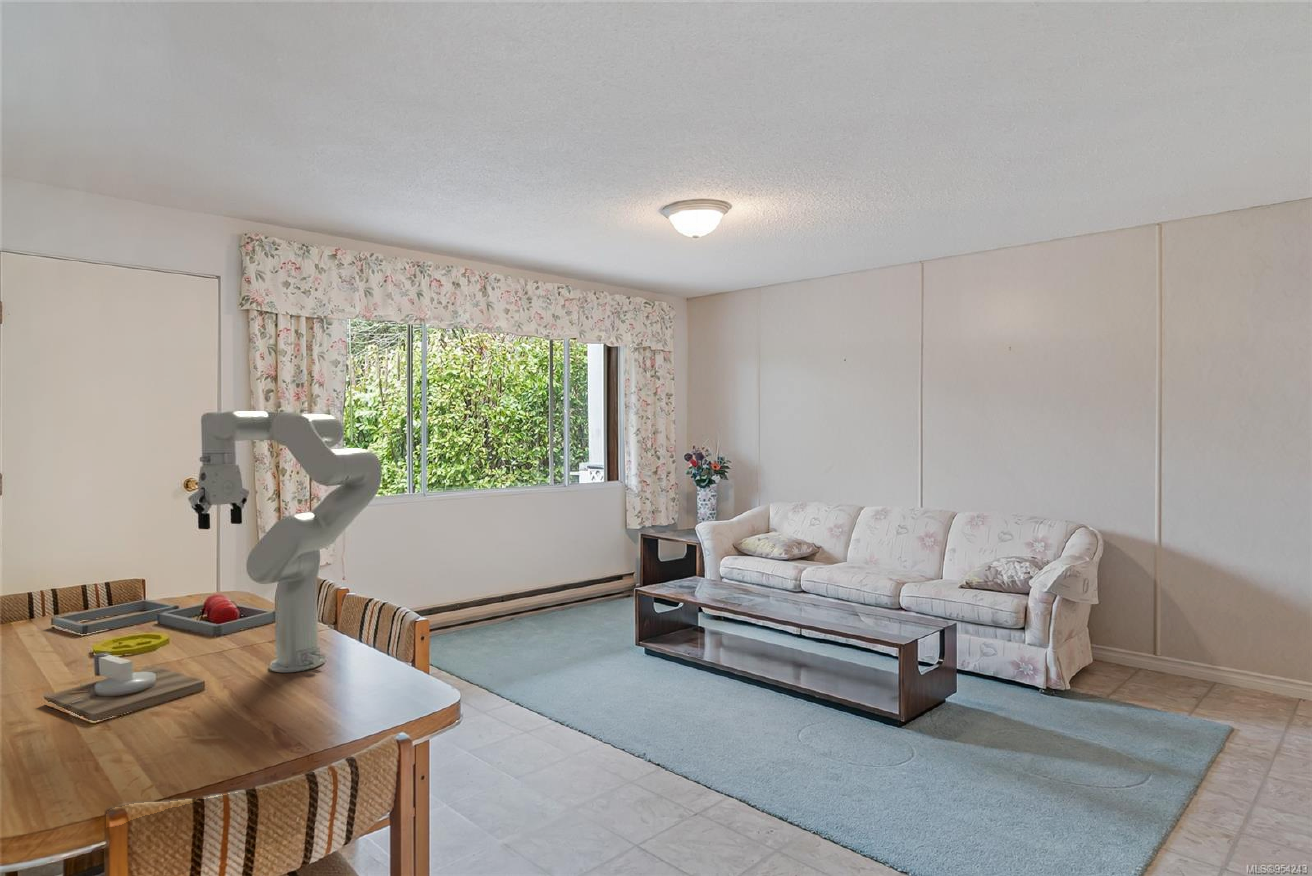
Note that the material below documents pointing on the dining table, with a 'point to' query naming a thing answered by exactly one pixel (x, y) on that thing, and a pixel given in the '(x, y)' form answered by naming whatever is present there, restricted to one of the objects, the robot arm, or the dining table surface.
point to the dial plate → (125, 696)
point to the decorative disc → (132, 644)
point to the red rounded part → (220, 609)
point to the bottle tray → (182, 621)
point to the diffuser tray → (138, 618)
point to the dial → (119, 676)
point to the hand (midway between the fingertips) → (220, 526)
